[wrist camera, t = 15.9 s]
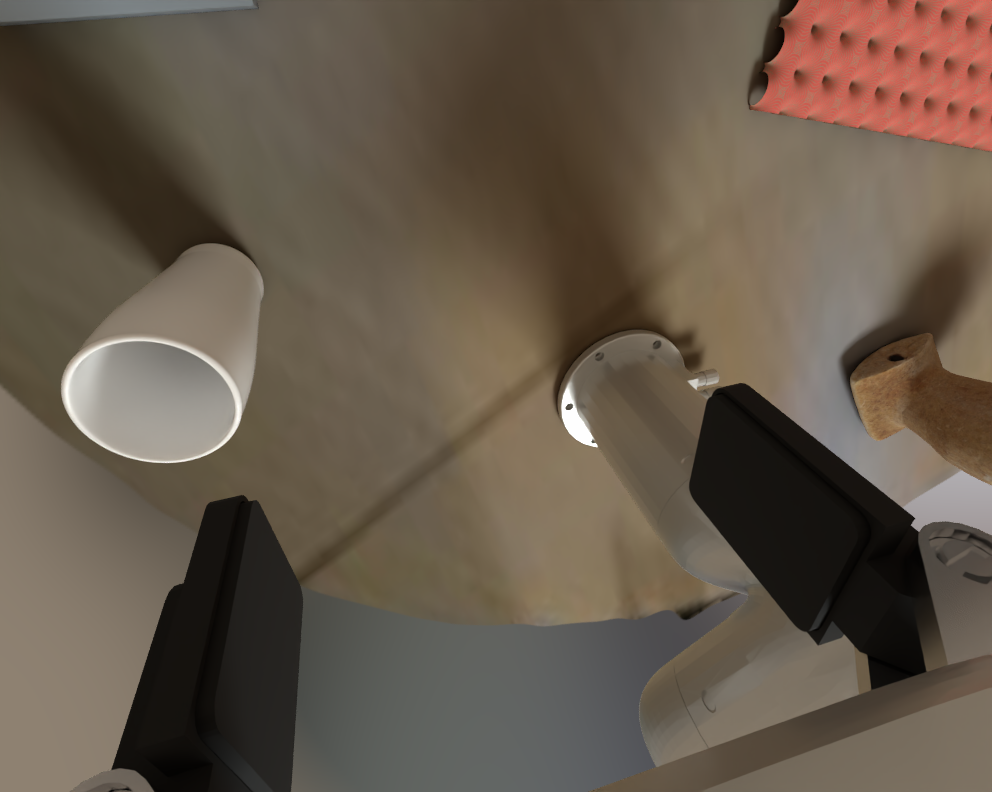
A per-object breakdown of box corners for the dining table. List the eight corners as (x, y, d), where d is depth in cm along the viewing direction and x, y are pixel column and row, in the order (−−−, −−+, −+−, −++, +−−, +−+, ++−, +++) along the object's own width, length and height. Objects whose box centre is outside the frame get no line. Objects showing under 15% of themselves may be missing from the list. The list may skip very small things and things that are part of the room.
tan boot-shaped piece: (946, 382, 61) (1095, 462, 49) (859, 441, 63) (982, 532, 51) (934, 299, 52) (1113, 370, 40) (834, 370, 54) (975, 459, 42)
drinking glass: (172, 210, 30) (65, 309, 18) (288, 253, 33) (261, 362, 21) (153, 307, 33) (48, 448, 21) (262, 338, 36) (224, 478, 24)
